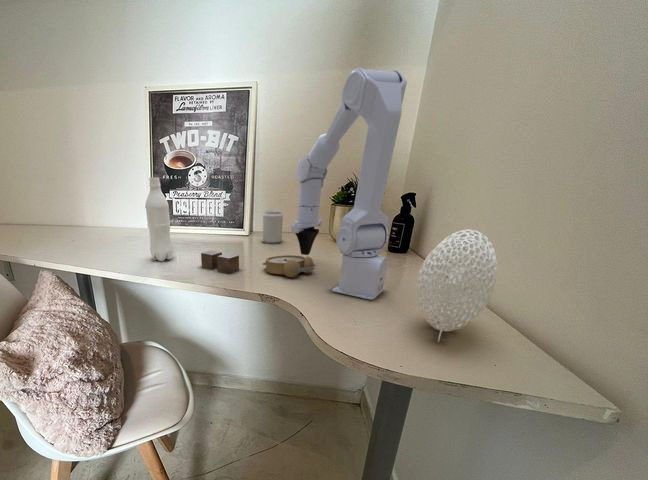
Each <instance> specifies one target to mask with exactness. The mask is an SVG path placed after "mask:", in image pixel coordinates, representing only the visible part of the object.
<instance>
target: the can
mask: <svg viewBox="0 0 648 480" xmlns="http://www.w3.org/2000/svg"><path fill="white" fill-rule="evenodd" d="M283 218H284V214H283V213H282V210H279V209H270V210H269V209H267V210H264V214H263V215H262V219H263V220H262V241H263V242H264V243H265V244H279V243H281V241H282V240H283V221H284V220H283Z"/></svg>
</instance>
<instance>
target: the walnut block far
mask: <svg viewBox="0 0 648 480" xmlns="http://www.w3.org/2000/svg"><path fill="white" fill-rule="evenodd" d="M220 255H223V252H221V251H217V250H207V251H203V252H200V258H201V259H200V261H201V263H200V264H201V268H202V269H207V270H210V271H211V270H212V271H213V270H216V269H218V262H217V256H220Z"/></svg>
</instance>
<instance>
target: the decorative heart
mask: <svg viewBox="0 0 648 480" xmlns="http://www.w3.org/2000/svg"><path fill="white" fill-rule="evenodd" d="M466 257H467V259H466ZM497 266H498V260H497V256H496V250H495V247H494V245H493V243H492V242H491V240H490V239H489V238H488V236H487V235H485V234H484V233H482V232H480V231H479V230H476V229H471V228H470V229H469V228H468V229H461V230H459V231H455V232H452V233H451V234H449V235H448V236H447V237H445V238H443V240H441V241H440V243H438V244H437V246H435V248H433V249H432V250H431V251H430V252H429V253H428V255H427V256H426V257H425V259H424V260H423V262H422V264H421V266H420V269H419V271H418V274H417V278H416V285H415V296H416V302H417V306H418V309H419V312H420V313H421V315H422V317H423V318H424V320H425V321H426V322H427V323H428V324H429V326H431V327H432V328H434V329H435V330H436V331H439V333H438V339H437V343H439V342H440V340H441V336H442V333H443V332H452V331H456V330H459V329H461V328H464V327H466V326H467V325H468V324H470V323H471V322H473V321H474V320H475V319H476V318H477V317H479V315H480V314H481V313H482V312H483V311H484V309H485V308H486V306H487V305H488V304H489V301H490V300H491V298H492V295H493V293H494V291H495V286H496V281H497V274H498V273H497V272H498V267H497ZM453 267H454V268H453ZM448 271H449V272H448ZM442 276H443V278H442ZM446 277H447V279H446ZM441 278H442V279H441ZM467 281H468V283H467ZM475 284H476V285H475ZM465 304H466V305H465ZM441 308H442V310H441Z"/></svg>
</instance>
